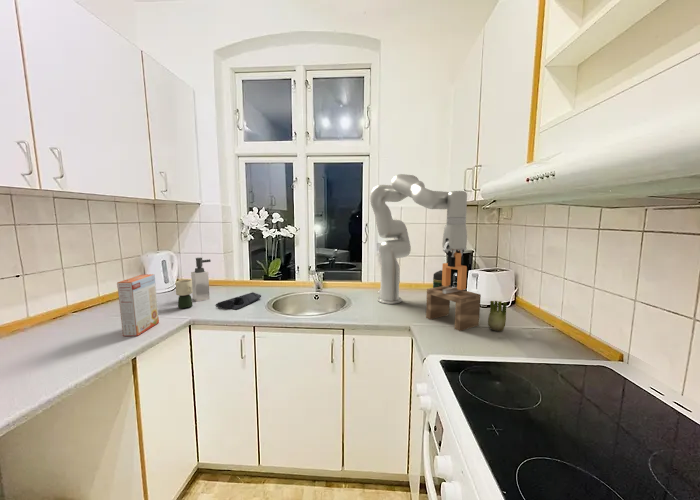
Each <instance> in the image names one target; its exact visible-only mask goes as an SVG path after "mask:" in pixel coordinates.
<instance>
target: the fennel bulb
mask: <svg viewBox="0 0 700 500" xmlns="http://www.w3.org/2000/svg"><path fill="white" fill-rule="evenodd" d="M489 304H490V306H489V308H490V310H489V314H488V319H487V326H488V328H489V329H490V330H491V331H493V332H503V331H504V329H505V327H506V324H507V304H508V302H504V301H503V302H502V301H500V300H499V301H498V300H490V301H489Z"/></svg>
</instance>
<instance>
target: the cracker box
mask: <svg viewBox="0 0 700 500" xmlns="http://www.w3.org/2000/svg"><path fill="white" fill-rule="evenodd" d="M116 285H117V286H116V287H117V294H118V295H117V296H118V302H119V303H118V304H119V311H120V312H119V313H120V319H121V320H120V321H121V329H122V337H138V336H140V335H142V334H143V333H145V332H147V331H148V330H149V329H151V328H153V327H155V326H156V325H159V324H160V318H159V317H160V316H159V309H158V298H157V286H156V277H155V274H153V273H152V274H151V273H150V274H146V273H145V274H144V273H143V274H139V275H137V276H133V277H130V278H127V279H123V280H121V281H118V282H117V283H116ZM141 333H142V334H141Z"/></svg>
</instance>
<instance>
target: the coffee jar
mask: <svg viewBox="0 0 700 500" xmlns="http://www.w3.org/2000/svg"><path fill="white" fill-rule="evenodd" d="M441 286H443V285H442V269H441V270H438V271H436V272H434V273H433V278H432V288H435V287H441ZM449 286H450V287H452V278H451V279H450V285H449ZM449 309H450V306H449Z"/></svg>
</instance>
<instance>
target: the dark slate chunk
mask: <svg viewBox="0 0 700 500" xmlns="http://www.w3.org/2000/svg"><path fill="white" fill-rule="evenodd" d="M261 298H262V295H261V293H260V294H259V293H256V292H253V291H252V292H250V293H245V294H243V295H239V296H236V297H232V298H229V299H226V300H222V301H219V302H217V303H216V304H215V306H216V307H215V308H221V309H223V310H224V309H225V310H232V311H233V310H240V309H241V308H244V307H246V306H249V305H250V304H253V303H254V302H256V301H258V300H259V299H261Z"/></svg>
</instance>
